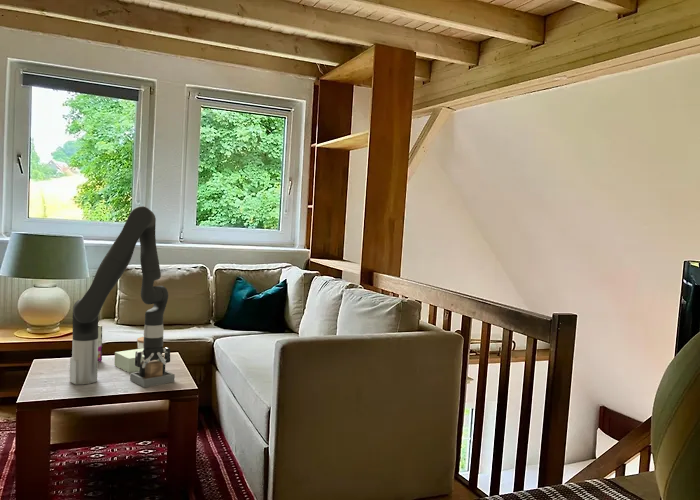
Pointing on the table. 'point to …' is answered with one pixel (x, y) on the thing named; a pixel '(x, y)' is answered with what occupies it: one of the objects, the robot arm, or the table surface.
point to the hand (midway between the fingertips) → (152, 374)
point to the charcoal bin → (152, 379)
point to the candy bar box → (99, 343)
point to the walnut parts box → (153, 369)
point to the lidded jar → (140, 342)
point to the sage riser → (127, 360)
